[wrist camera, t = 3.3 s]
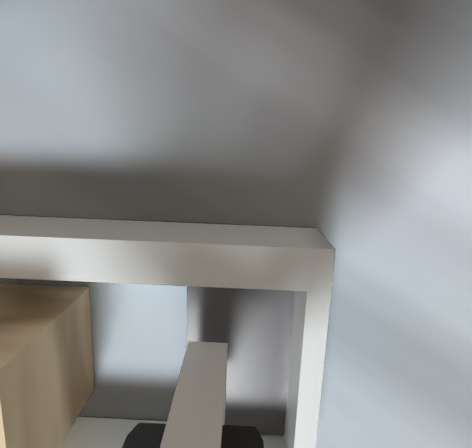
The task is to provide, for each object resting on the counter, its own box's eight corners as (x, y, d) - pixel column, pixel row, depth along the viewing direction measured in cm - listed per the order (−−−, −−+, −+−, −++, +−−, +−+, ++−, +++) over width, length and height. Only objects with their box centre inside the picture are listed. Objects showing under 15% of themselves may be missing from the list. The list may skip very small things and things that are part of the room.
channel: (317, 228, 15) (335, 249, 12) (297, 455, 17) (308, 519, 14) (-72, 212, 15) (-149, 228, 12) (-38, 437, 17) (-95, 497, 14)
